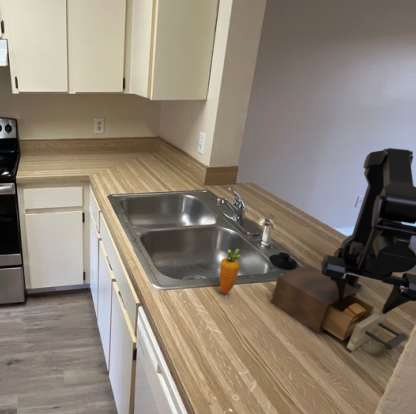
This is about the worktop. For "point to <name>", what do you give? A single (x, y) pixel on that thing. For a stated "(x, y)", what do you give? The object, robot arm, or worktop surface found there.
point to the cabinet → (307, 295)
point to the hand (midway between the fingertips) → (361, 306)
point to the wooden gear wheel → (354, 312)
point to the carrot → (229, 271)
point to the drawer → (359, 324)
